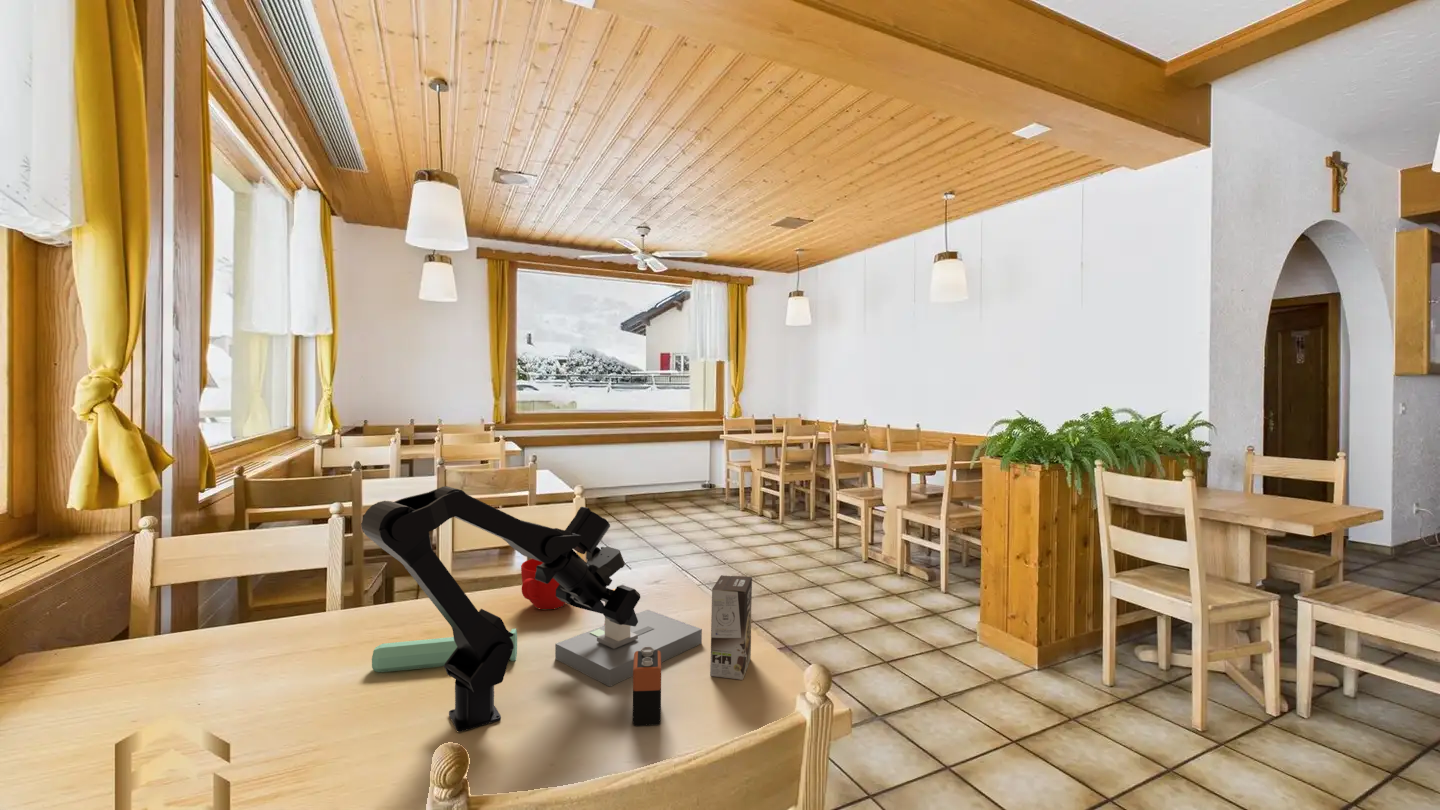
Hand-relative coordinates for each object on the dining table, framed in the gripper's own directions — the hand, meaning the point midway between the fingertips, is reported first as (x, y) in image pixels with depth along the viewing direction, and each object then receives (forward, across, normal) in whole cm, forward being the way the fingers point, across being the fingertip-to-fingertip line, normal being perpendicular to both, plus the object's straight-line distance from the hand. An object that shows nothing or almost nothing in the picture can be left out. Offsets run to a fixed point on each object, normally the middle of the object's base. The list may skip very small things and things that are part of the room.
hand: (620, 617), depth 120 cm
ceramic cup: (+9, +32, +2) cm, 33 cm away
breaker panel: (+7, 0, +3) cm, 8 cm away
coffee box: (+13, -19, -2) cm, 23 cm away
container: (-11, +22, +22) cm, 33 cm away
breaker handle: (+3, 0, +3) cm, 4 cm away
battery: (-2, -20, +13) cm, 24 cm away
